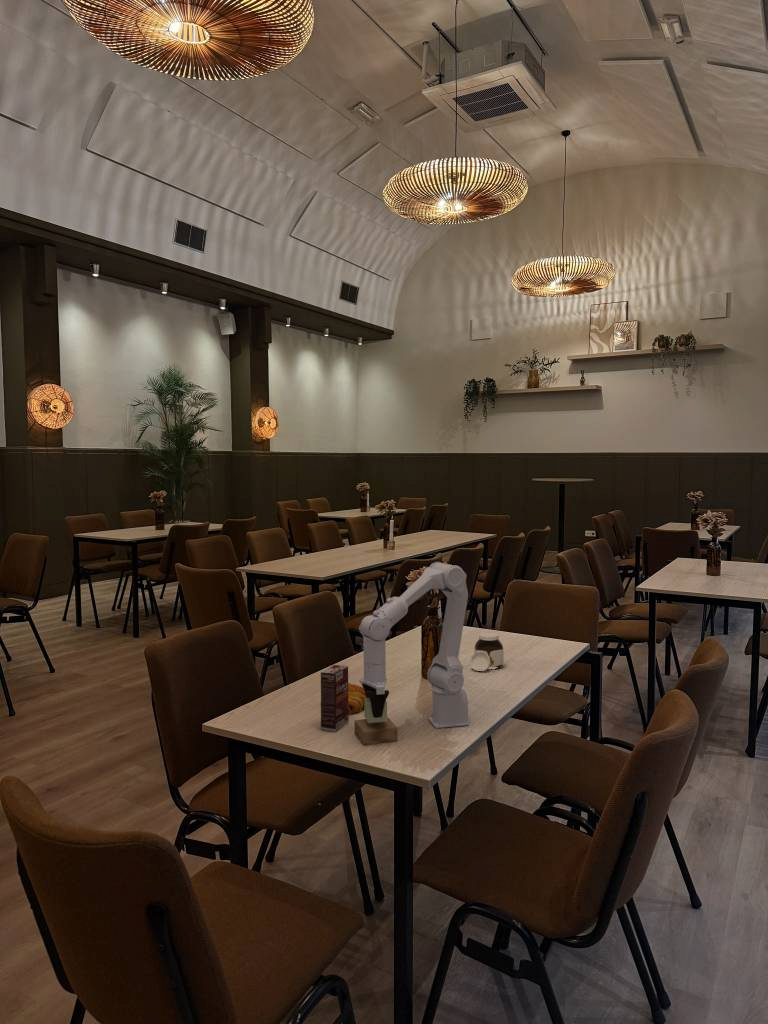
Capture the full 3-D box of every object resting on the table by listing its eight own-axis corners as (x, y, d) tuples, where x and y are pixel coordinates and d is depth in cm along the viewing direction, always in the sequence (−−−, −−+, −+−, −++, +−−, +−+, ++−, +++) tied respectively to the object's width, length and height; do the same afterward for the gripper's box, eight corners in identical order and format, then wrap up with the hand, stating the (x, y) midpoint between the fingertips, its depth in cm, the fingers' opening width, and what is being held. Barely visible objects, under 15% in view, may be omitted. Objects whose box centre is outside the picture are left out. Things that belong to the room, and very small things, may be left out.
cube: (383, 715, 191) (382, 696, 191) (387, 721, 186) (386, 702, 186) (364, 716, 190) (364, 698, 190) (368, 723, 185) (367, 704, 185)
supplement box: (336, 732, 192) (335, 674, 192) (320, 730, 194) (319, 672, 193) (349, 722, 200) (349, 665, 200) (334, 720, 202) (333, 664, 201)
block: (386, 730, 194) (386, 716, 194) (397, 742, 186) (397, 727, 185) (354, 734, 192) (354, 720, 191) (363, 747, 183) (363, 731, 183)
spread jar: (501, 664, 258) (501, 631, 257) (506, 673, 246) (506, 639, 246) (468, 664, 258) (467, 632, 257) (471, 673, 247) (471, 639, 246)
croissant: (328, 725, 205) (327, 699, 203) (318, 700, 220) (318, 676, 218) (377, 718, 208) (377, 692, 207) (364, 695, 223) (364, 670, 222)
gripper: (354, 656, 194) (355, 705, 194) (364, 670, 179) (365, 724, 180) (380, 654, 195) (380, 703, 196) (392, 668, 181) (393, 721, 182)
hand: (375, 713), depth 188 cm, fingers closed on cube, 5 cm apart
